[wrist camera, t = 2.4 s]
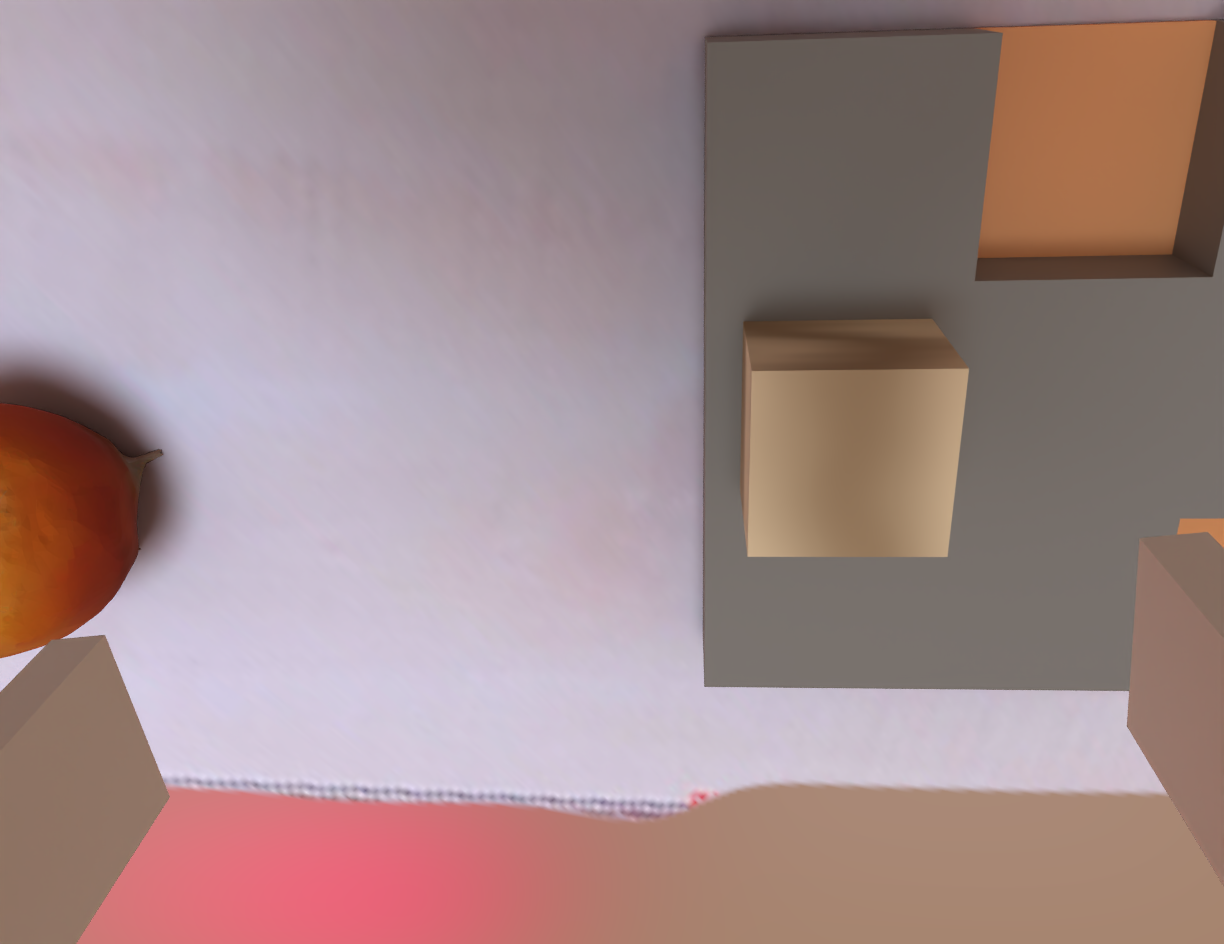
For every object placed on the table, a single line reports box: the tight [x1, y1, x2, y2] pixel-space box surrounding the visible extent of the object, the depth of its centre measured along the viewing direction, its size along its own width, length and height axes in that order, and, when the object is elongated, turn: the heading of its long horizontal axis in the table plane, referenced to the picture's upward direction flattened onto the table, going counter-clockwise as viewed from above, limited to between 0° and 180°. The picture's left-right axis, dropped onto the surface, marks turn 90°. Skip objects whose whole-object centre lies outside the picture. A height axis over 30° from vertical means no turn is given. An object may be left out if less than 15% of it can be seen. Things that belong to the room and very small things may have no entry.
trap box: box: [703, 20, 1224, 691], centre depth 28 cm, size 25×19×7 cm
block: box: [740, 319, 969, 557], centre depth 27 cm, size 5×5×4 cm
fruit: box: [0, 403, 163, 658], centre depth 33 cm, size 8×8×8 cm
